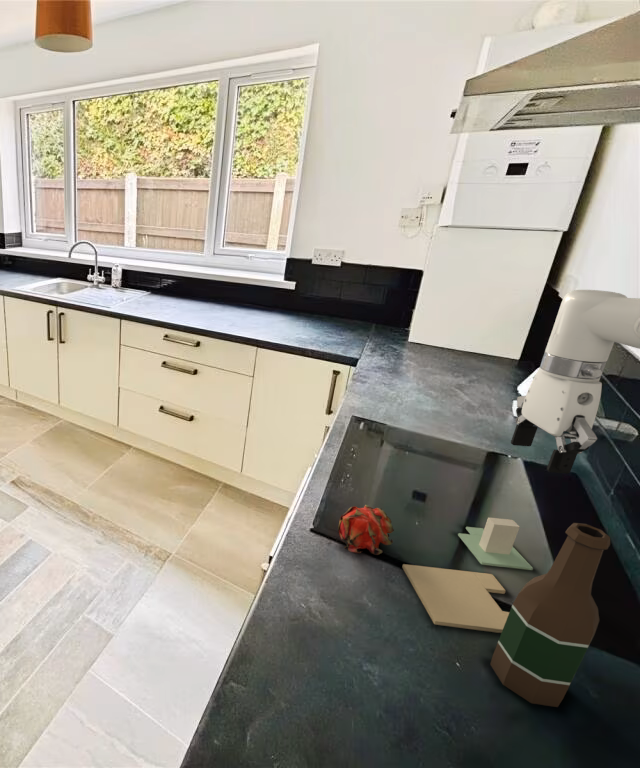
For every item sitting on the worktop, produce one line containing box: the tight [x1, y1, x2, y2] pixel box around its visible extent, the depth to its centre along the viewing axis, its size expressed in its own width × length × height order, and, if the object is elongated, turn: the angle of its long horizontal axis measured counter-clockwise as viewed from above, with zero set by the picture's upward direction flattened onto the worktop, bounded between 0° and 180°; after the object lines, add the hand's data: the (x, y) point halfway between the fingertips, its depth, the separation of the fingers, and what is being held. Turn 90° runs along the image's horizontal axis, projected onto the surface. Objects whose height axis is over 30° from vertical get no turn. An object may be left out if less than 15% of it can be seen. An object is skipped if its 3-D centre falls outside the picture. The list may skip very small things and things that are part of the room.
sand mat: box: [401, 563, 510, 634], centre depth 72 cm, size 14×12×1 cm
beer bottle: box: [489, 522, 611, 708], centre depth 56 cm, size 8×8×24 cm
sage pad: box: [457, 517, 534, 571], centre depth 83 cm, size 10×8×7 cm
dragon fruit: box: [337, 504, 395, 556], centre depth 83 cm, size 8×8×12 cm
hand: (538, 457), depth 81 cm, fingers open, 9 cm apart
